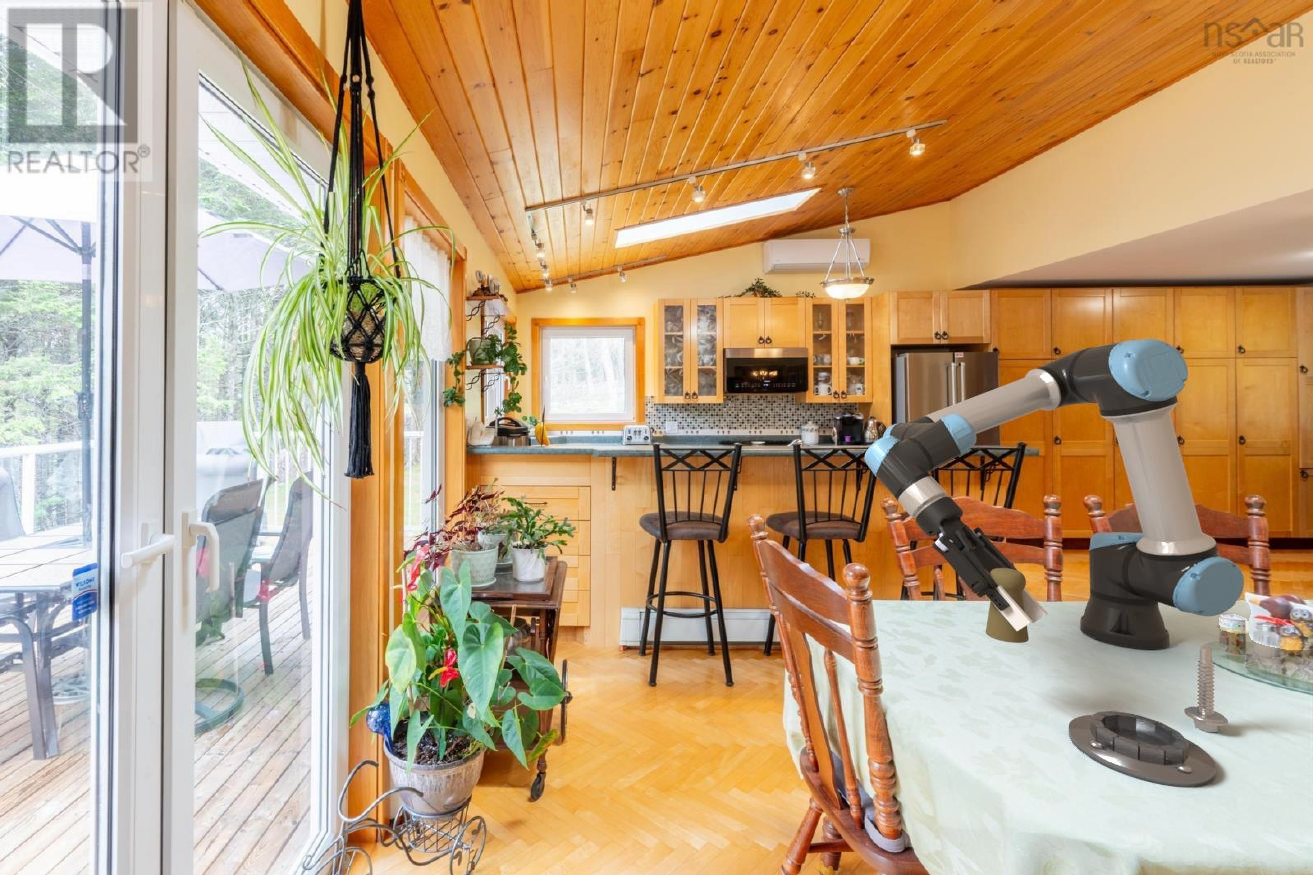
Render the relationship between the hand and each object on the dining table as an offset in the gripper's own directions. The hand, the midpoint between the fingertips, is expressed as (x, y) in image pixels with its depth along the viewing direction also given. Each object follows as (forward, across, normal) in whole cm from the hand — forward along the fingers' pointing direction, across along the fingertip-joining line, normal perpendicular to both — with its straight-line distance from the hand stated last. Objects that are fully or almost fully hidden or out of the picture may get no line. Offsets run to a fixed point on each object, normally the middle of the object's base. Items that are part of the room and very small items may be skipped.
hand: (1032, 622), depth 89 cm
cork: (0, 0, -5) cm, 5 cm away
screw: (+23, -19, 0) cm, 30 cm away
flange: (+20, -3, -3) cm, 20 cm away
